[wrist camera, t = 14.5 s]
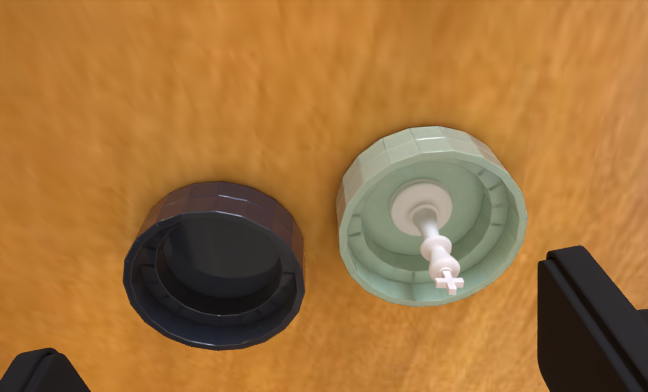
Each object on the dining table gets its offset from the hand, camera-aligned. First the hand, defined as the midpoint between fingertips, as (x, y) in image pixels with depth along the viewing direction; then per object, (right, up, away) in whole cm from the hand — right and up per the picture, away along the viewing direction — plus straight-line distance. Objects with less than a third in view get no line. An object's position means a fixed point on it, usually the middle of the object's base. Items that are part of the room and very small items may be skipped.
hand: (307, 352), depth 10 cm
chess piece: (+8, +2, +29) cm, 30 cm away
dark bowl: (-8, -1, +31) cm, 32 cm away
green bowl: (+8, +3, +29) cm, 30 cm away
